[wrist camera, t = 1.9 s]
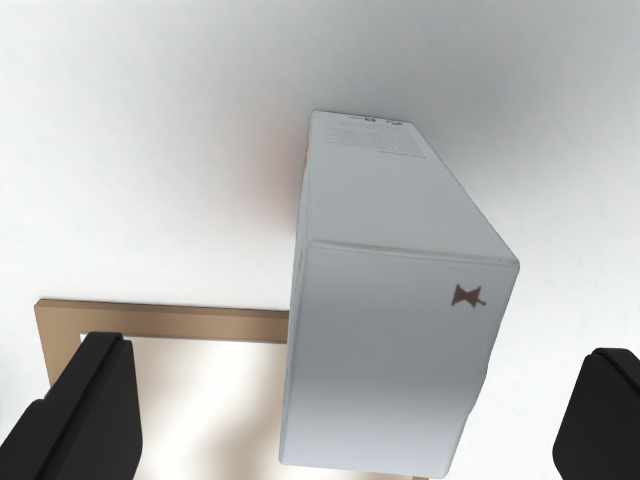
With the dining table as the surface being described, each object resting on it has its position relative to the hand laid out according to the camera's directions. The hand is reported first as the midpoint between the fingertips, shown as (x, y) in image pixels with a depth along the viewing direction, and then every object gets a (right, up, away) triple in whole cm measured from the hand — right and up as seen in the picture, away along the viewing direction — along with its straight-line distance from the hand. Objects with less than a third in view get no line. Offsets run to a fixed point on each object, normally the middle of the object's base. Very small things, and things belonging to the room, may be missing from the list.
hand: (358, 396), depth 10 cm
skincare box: (0, +6, +11) cm, 12 cm away
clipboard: (-4, -7, +17) cm, 19 cm away
